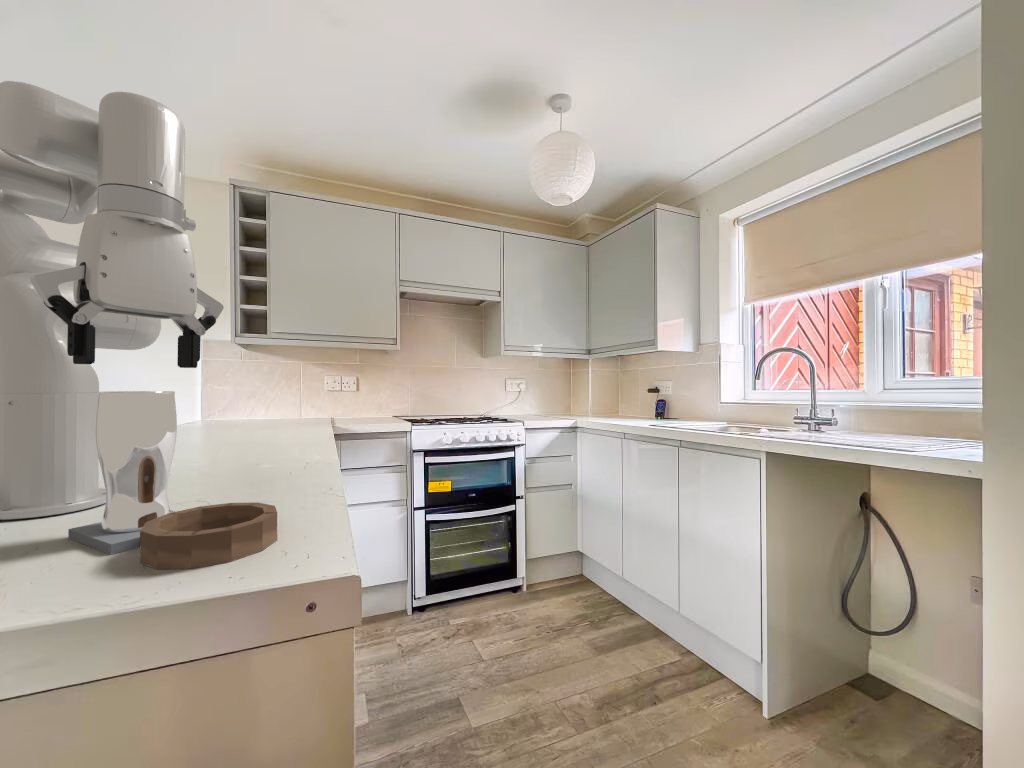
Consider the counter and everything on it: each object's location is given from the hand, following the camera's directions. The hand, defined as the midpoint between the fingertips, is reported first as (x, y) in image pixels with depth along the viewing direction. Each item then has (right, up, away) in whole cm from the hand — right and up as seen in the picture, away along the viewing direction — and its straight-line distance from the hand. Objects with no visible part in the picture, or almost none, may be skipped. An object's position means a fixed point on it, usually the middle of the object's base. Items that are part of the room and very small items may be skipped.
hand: (139, 365), depth 50 cm
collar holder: (+11, -19, -4) cm, 22 cm away
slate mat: (0, -19, 0) cm, 19 cm away
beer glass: (0, -18, 0) cm, 18 cm away
